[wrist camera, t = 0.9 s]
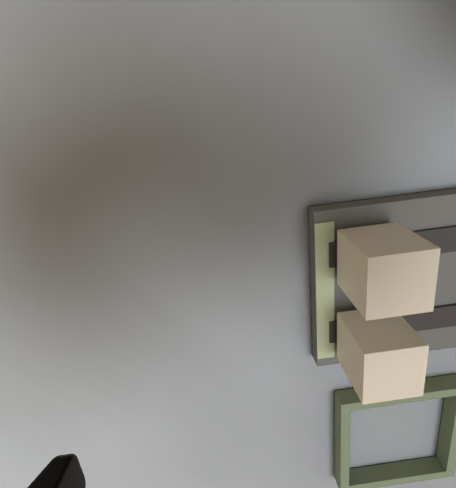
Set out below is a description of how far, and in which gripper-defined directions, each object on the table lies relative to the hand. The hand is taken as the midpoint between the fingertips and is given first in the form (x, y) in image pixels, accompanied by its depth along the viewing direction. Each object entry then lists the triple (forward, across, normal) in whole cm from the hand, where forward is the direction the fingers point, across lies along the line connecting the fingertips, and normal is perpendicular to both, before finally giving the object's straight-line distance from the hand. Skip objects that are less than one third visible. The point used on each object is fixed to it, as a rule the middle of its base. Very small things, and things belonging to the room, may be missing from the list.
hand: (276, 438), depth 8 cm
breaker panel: (+12, -10, +3) cm, 16 cm away
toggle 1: (+10, -7, +1) cm, 12 cm away
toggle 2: (+10, -7, +6) cm, 14 cm away
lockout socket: (+12, -10, +14) cm, 21 cm away
